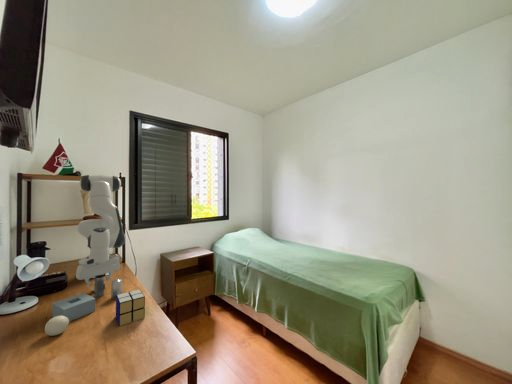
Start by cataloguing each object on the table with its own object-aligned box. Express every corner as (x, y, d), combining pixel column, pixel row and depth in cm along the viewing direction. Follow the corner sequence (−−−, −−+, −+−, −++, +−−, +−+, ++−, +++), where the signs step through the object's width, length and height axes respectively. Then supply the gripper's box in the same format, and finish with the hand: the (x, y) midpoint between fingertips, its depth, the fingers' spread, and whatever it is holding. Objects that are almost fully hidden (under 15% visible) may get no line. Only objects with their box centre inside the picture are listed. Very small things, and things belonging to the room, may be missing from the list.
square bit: (94, 296, 117) (94, 279, 118) (100, 294, 120) (101, 278, 120) (97, 297, 116) (97, 281, 116) (103, 295, 119) (104, 279, 119)
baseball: (73, 329, 88) (73, 313, 88) (51, 341, 81) (51, 323, 81) (62, 326, 90) (63, 310, 90) (40, 337, 83) (41, 319, 83)
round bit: (109, 297, 116) (110, 281, 116) (118, 294, 120) (119, 278, 120) (114, 299, 114) (114, 282, 114) (123, 296, 118) (124, 279, 118)
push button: (91, 292, 122) (91, 275, 122) (91, 289, 126) (92, 272, 126) (105, 289, 126) (105, 272, 126) (105, 286, 130) (105, 270, 130)
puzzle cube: (115, 316, 98) (116, 294, 98) (139, 309, 104) (140, 288, 105) (118, 327, 90) (119, 303, 90) (144, 318, 97) (145, 296, 97)
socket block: (51, 316, 98) (52, 302, 98) (83, 304, 108) (83, 292, 108) (63, 323, 92) (63, 309, 92) (95, 310, 102) (95, 298, 103)
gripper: (116, 252, 129) (115, 276, 128) (75, 261, 111) (74, 288, 110) (122, 254, 126) (121, 277, 125) (80, 262, 108) (79, 290, 107)
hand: (99, 282), depth 118 cm, fingers open, 8 cm apart
